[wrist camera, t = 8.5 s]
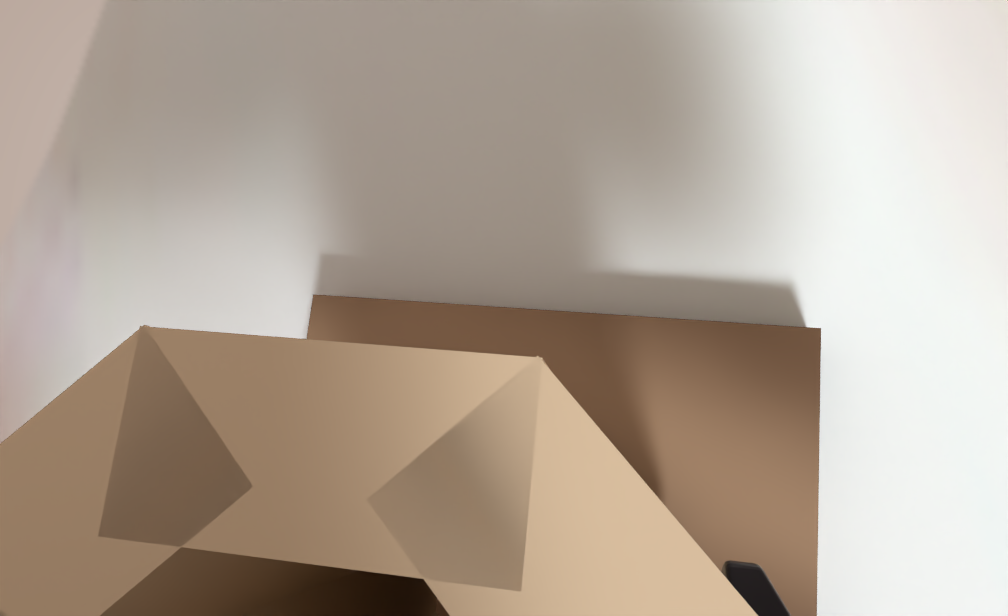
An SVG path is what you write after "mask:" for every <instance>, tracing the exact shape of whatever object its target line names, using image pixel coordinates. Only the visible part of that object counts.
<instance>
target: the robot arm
mask: <svg viewBox="0 0 1008 616" xmlns="http://www.w3.org/2000/svg"><path fill="white" fill-rule="evenodd" d="M721 573H722V574H723V575H724V576H725V577H726V578H727V580H728V581H729V582H730V583H731V584H732V586H733V587H734V588H735V589H736V590H737V591H738V593H739V594H740V595H741V596H742V597H743V599H744V600H745V601H746V602H747V603H748V604H749V606H750V607H751V608H752V609H753V610H754V612H755V613H756V614H757V615H758V616H791V614H790V613H789V611H788V609H787V608H786V606H785V604H784V603H783V601H782V599H781V598H780V596H779V594H778V593H777V591H776V590H775V588H774V586H773V585H772V583H771V581H770V580H769V578H768V576H767V575H766V573H765V572H764V570H763V569H762V567H761V566H759V565H758V564H755V563H750V562H741V561H733V560H728V561H726V562H725V563H724V564H723V566H722V571H721Z"/></svg>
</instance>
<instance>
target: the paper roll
mask: <svg viewBox="0 0 1008 616" xmlns="http://www.w3.org/2000/svg"><path fill="white" fill-rule="evenodd" d="M437 599H438V600H439V601H440V603H441V604H442V605H443V607H444V608H445V610H446V611H447V612H448V614H449V615H450V616H758V615H757V614H756V613H755V612H754V610H753V609H752V608H751V607H750V606H749V604H748V603H747V602H746V601H745V600H744V599H743V597H742V596H741V595H740V594H739V593H738V591H737V590H736V589H735V588H734V587H733V586H732V584H731V583H730V582H729V581H728V580H727V578H726V577H725V576H724V575H723V574H722V573H721V571H720V570H719V569H718V568H717V567H716V565H715V564H714V563H713V562H712V561H711V560H710V558H709V557H708V556H707V555H706V554H705V552H704V551H703V550H702V549H701V548H700V547H699V545H698V544H697V543H696V542H695V541H694V539H693V538H692V537H691V536H690V535H689V534H688V532H687V531H686V530H685V529H684V528H683V526H682V525H681V524H680V523H679V522H678V521H677V519H676V518H675V517H674V516H673V515H672V513H671V512H670V511H669V510H668V509H667V508H666V506H665V505H664V504H663V503H662V502H661V500H660V499H659V498H658V497H657V496H656V495H655V493H654V492H653V491H652V490H651V489H650V487H649V486H648V485H647V484H646V483H645V482H644V480H643V479H642V478H641V477H640V476H639V475H638V473H637V472H636V471H635V470H634V469H633V467H632V466H631V465H630V464H629V463H628V462H627V460H626V459H625V458H624V457H623V456H622V454H621V453H620V452H619V451H618V450H617V449H616V447H615V446H614V445H613V444H612V443H611V441H610V440H609V439H608V438H607V437H606V436H605V434H604V433H603V432H602V431H601V430H600V428H599V427H598V426H597V425H596V424H595V423H594V421H593V420H592V419H591V418H590V417H589V415H588V414H587V413H586V412H585V411H584V410H583V408H582V407H581V406H580V405H579V404H578V402H577V401H576V400H575V399H574V398H573V397H572V395H571V394H570V393H569V392H568V391H567V389H566V388H565V387H564V386H563V385H562V384H561V382H560V381H559V380H558V379H557V378H556V376H555V375H554V374H553V373H552V372H551V370H550V369H549V367H548V366H547V364H546V363H545V361H544V360H543V358H540V357H539V356H537V357H527V356H514V355H502V354H489V353H476V352H463V351H450V350H437V349H425V348H412V347H399V346H386V345H373V344H361V343H348V342H335V341H322V340H309V339H297V338H284V337H271V336H258V335H245V334H232V333H220V332H207V331H194V330H181V329H168V328H156V327H149V326H146V325H144V326H140V329H139V330H138V331H136V332H135V333H134V334H133V335H132V336H130V337H129V338H128V339H127V340H125V341H124V342H123V343H122V344H121V345H119V346H118V347H117V348H116V349H115V350H113V351H112V352H111V353H110V354H109V355H107V356H106V357H105V358H104V359H102V360H101V361H100V362H99V363H98V364H96V365H95V366H94V367H93V368H92V369H90V370H89V371H88V372H87V373H86V374H84V375H83V376H82V377H81V378H79V379H78V380H77V381H76V382H75V383H73V384H72V385H71V386H70V387H69V388H67V389H66V390H65V391H64V392H63V393H61V394H60V395H59V396H58V397H56V398H55V399H54V400H53V401H52V402H50V403H49V404H48V405H47V406H46V407H44V408H43V409H42V410H41V411H40V412H38V413H37V414H36V415H35V416H34V417H32V418H31V419H30V420H29V421H27V422H26V423H25V424H24V425H23V426H21V427H20V428H19V429H18V430H17V431H15V432H14V433H13V434H12V435H11V436H9V437H8V438H7V439H6V440H4V441H3V442H2V443H1V444H0V616H439V615H438V613H437V612H436V607H437Z"/></svg>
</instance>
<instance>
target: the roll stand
mask: <svg viewBox="0 0 1008 616" xmlns="http://www.w3.org/2000/svg"><path fill="white" fill-rule="evenodd" d="M307 339H309V340H322V341H335V342H348V343H361V344H373V345H386V346H399V347H412V348H425V349H437V350H450V351H463V352H476V353H489V354H502V355H514V356H527V357H537V356H539V357H540V358H543V360H544V361H545V363H546V364H547V366H548V367H549V369H550V370H551V372H552V373H553V374H554V375H555V376H556V378H557V379H558V380H559V381H560V382H561V384H562V385H563V386H564V387H565V388H566V389H567V391H568V392H569V393H570V394H571V395H572V397H573V398H574V399H575V400H576V401H577V402H578V404H579V405H580V406H581V407H582V408H583V410H584V411H585V412H586V413H587V414H588V415H589V417H590V418H591V419H592V420H593V421H594V423H595V424H596V425H597V426H598V427H599V428H600V430H601V431H602V432H603V433H604V434H605V436H606V437H607V438H608V439H609V440H610V441H611V443H612V444H613V445H614V446H615V447H616V449H617V450H618V451H619V452H620V453H621V454H622V456H623V457H624V458H625V459H626V460H627V462H628V463H629V464H630V465H631V466H632V467H633V469H634V470H635V471H636V472H637V473H638V475H639V476H640V477H641V478H642V479H643V480H644V482H645V483H646V484H647V485H648V486H649V487H650V489H651V490H652V491H653V492H654V493H655V495H656V496H657V497H658V498H659V499H660V500H661V502H662V503H663V504H664V505H665V506H666V508H667V509H668V510H669V511H670V512H671V513H672V515H673V516H674V517H675V518H676V519H677V521H678V522H679V523H680V524H681V525H682V526H683V528H684V529H685V530H686V531H687V532H688V534H689V535H690V536H691V537H692V538H693V539H694V541H695V542H696V543H697V544H698V545H699V547H700V548H701V549H702V550H703V551H704V552H705V554H706V555H707V556H708V557H709V558H710V560H711V561H712V562H713V563H714V564H715V565H716V567H717V568H718V569H719V570H720V571H722V566H723V564H724V563H725V562H726V561H728V560H733V561H741V562H750V563H755V564H758V565H759V566H761V567H762V569H763V570H764V572H765V573H766V575H767V576H768V578H769V580H770V581H771V583H772V585H773V586H774V588H775V590H776V591H777V593H778V594H779V596H780V598H781V599H782V601H783V603H784V604H785V606H786V608H787V609H788V611H789V613H790V614H791V616H817V550H818V484H819V417H820V351H821V328H807V327H792V326H777V325H762V324H747V323H732V322H717V321H702V320H687V319H672V318H657V317H642V316H627V315H612V314H597V313H582V312H567V311H552V310H537V309H522V308H507V307H492V306H477V305H462V304H447V303H432V302H417V301H402V300H387V299H372V298H357V297H342V296H327V295H313V301H312V307H311V314H310V321H309V327H308V334H307ZM436 612H437V613H438V615H439V616H450V615H449V614H448V612H447V611H446V610H445V608H444V607H443V605H442V604H441V603H440V601H439V600H438V599H437V607H436Z"/></svg>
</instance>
